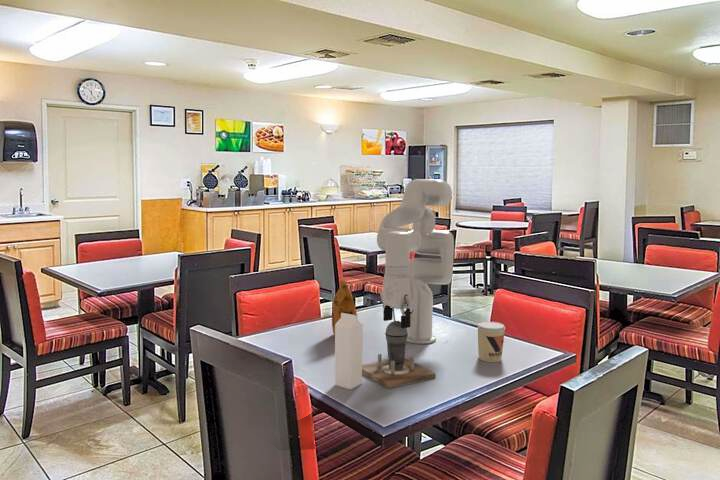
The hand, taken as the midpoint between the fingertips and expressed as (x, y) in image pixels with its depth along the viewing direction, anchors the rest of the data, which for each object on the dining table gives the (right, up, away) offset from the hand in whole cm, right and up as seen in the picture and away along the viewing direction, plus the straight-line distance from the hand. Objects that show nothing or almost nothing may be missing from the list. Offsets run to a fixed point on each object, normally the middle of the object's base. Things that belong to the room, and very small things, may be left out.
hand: (396, 323), depth 180 cm
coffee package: (-17, -12, +40) cm, 45 cm away
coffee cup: (+34, -15, +17) cm, 41 cm away
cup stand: (0, -16, +2) cm, 17 cm away
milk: (-15, -18, -7) cm, 24 cm away
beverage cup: (0, -15, +2) cm, 15 cm away
